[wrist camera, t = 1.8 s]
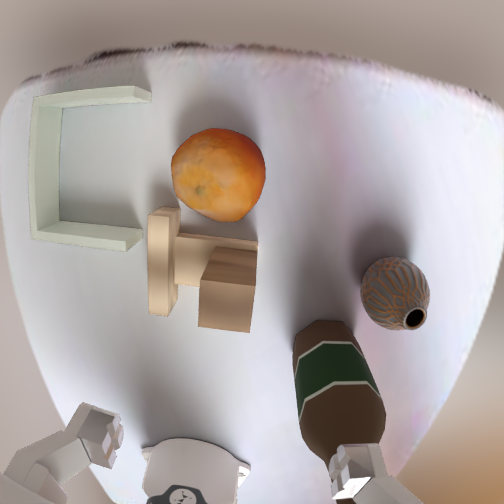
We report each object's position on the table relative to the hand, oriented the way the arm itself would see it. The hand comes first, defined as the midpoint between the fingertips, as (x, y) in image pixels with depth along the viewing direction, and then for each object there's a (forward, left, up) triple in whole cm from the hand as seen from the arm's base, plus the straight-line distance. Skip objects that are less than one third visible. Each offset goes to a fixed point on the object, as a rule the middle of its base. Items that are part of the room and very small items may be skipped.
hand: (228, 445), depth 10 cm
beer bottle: (-11, -10, -23) cm, 27 cm away
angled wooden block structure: (-2, +4, -23) cm, 24 cm away
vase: (-2, -15, -23) cm, 27 cm away
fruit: (+7, +3, -23) cm, 25 cm away
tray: (+7, +17, -23) cm, 30 cm away
